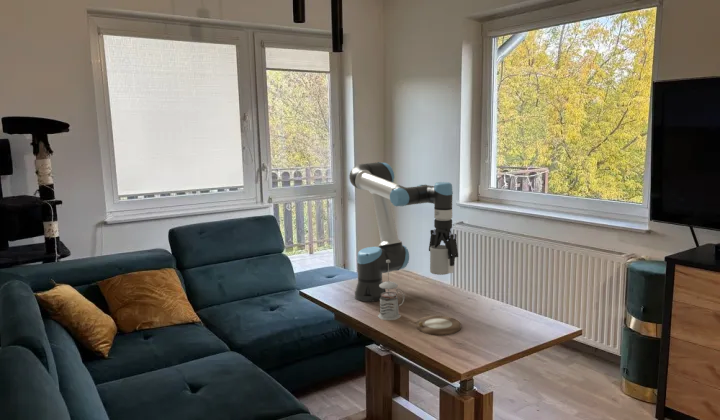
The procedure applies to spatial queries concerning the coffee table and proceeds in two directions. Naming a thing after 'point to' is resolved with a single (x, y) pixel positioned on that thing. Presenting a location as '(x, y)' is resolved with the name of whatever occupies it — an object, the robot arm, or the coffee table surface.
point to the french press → (390, 312)
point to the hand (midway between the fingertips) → (443, 270)
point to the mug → (439, 260)
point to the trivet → (438, 325)
